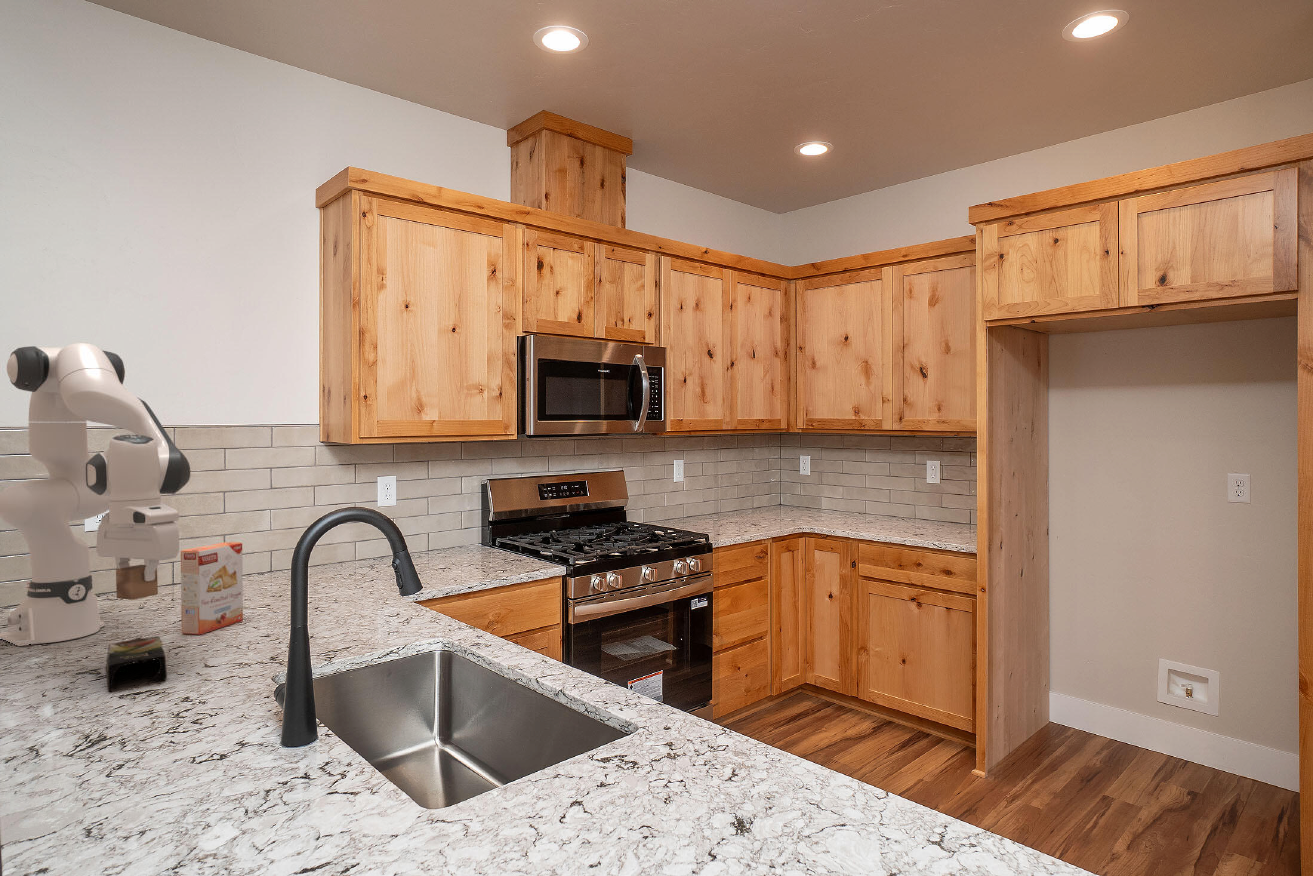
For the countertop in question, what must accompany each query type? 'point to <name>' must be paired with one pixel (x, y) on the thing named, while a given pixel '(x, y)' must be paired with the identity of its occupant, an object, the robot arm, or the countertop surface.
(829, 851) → the countertop surface
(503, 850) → the countertop surface
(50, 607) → the robot arm
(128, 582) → the walnut block
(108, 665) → the black open-ended box
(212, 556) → the cracker box
